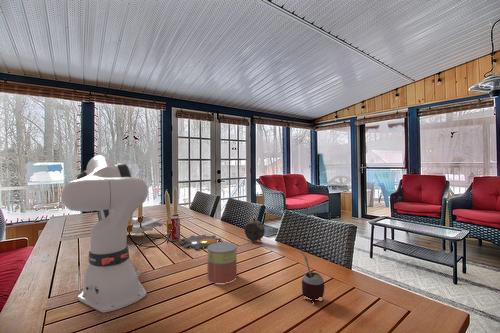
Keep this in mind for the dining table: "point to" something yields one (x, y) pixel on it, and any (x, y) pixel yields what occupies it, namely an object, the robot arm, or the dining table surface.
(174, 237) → the soda can
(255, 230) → the alarm clock
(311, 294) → the mate gourd
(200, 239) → the sprocket plate
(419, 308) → the dining table surface
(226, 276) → the canned food
